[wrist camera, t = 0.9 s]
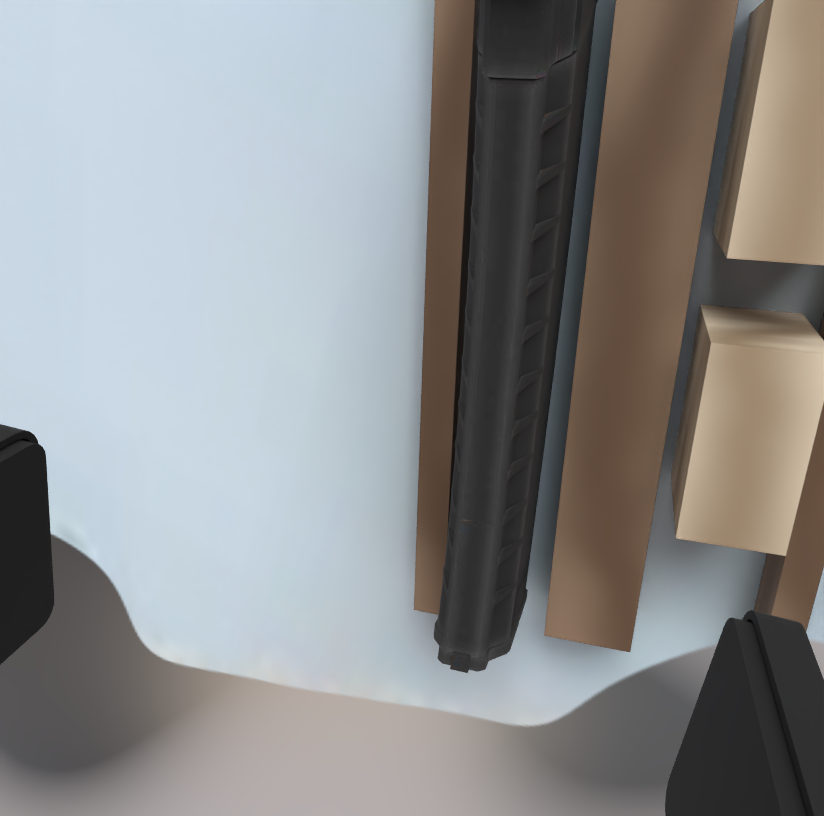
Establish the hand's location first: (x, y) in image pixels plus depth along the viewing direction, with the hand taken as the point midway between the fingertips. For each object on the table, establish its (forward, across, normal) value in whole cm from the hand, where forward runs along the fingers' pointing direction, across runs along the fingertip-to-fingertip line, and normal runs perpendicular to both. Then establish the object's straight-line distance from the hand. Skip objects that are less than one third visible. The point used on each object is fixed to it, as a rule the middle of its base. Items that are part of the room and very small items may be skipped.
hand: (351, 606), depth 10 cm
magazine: (+26, 0, +1) cm, 26 cm away
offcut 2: (+26, -10, +4) cm, 28 cm away
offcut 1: (+26, -8, -7) cm, 28 cm away
